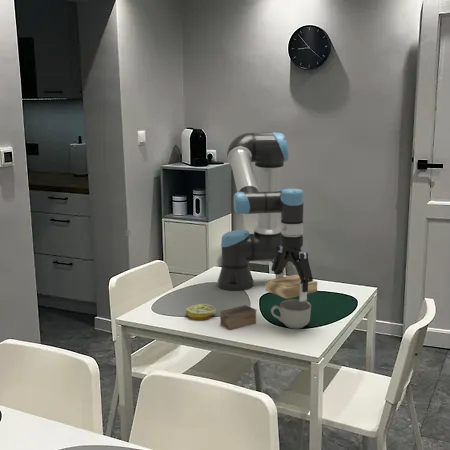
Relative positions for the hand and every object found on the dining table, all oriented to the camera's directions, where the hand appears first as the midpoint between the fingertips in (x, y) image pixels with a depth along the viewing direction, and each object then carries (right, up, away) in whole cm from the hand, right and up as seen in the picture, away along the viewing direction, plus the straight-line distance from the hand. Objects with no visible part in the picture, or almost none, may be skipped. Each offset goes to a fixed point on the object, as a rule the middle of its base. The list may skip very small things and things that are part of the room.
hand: (291, 296), depth 211 cm
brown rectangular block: (-18, -10, +4) cm, 21 cm away
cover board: (0, +2, 0) cm, 2 cm away
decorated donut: (-32, -9, +13) cm, 35 cm away
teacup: (0, -11, +2) cm, 11 cm away
